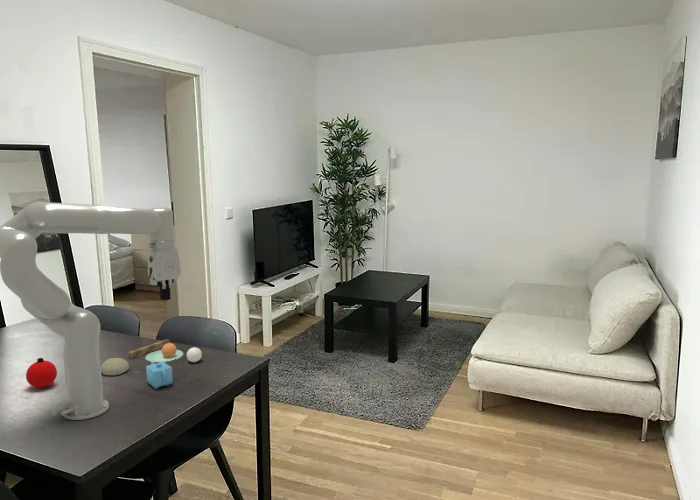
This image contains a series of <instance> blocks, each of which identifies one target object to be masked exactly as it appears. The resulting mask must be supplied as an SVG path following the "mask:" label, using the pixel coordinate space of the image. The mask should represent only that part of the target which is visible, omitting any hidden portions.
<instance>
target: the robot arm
mask: <svg viewBox="0 0 700 500" xmlns="http://www.w3.org/2000/svg"><path fill="white" fill-rule="evenodd" d="M42 233H49V234H88V235H89V234H90V235H91V234H99V235H109V234H110V235H112V234H117V235H119V234H120V235H149V243H148V244H147V247H148V249H150V250H148V258H147V275H148V280H149V285H151V286H156V287H157V288H158V289H159V299H160V300H161V301H169V300H171V288H172V286H173V283H174V282H175V281H177V280H179V278H180V276H181V274H182V272H181V269H182V268H181V262H180V261H181V260H180V256H179V253H178V252H179V250H178V249H177V247H176V246H175V231H174V212H173V210H172V209H171V208H169V207H153V208H120V207H114V206H107V205H100V204H85V203H84V204H82V203H63V202H46V201H35V202H32V203H31V204H28V205H27V206H26V207H24V208H23V209H21V210H20V211H19V212H17V213H16V214H15V215H14V216H12V217H11V218H9V220H7V221H6V222H5V223H3V224H2V225H0V276H1V280H2V281H3V283H4V284H5V286H6V287H7V289H8V290H10V291H11V292H12V293H13V294H15V296H17V297H18V298H19V299H20V302H21V306H22V307H23V308H24V310H25V311H27V312H28V314H30V315H31V316H33V318H35V319H36V320H38V321H39V322H40V323H41V324H43V326H45V327H47V328H48V329H49V330H50V331H52V332H54V333H55V334H57V335H59V336H61V337H63V338H64V339H65V340H64V341H65V342H64V347H63V364H64V374H65V375H64V376H65V388H66V398H67V399H65V400H63V404H61V405H60V406H59V407H55V408H53V409H51V410H50V413H51V415H52V417H56V416H58V415H60V414H61V416H63V418H64V419H67V420H69V421H70V420H71V421H82V420H83V421H84V420H89V419H92V418H96V417H98V416H101V415H103V414H104V413H106V412H107V411H108V409H109V408H110V402H109V400H106V399H104V396H103V395H104V394H103V382H102V372H101V357H100V336H101V322H100V319H99V318H98V316H97V315H96V314H95V313H94V312H92V311H90V310H88V309H86V308H83V307H79V306H76V305H75V304H74V303H73V302H71V298H70V296H69V294H68V293H67V291H65V290H64V289H63V288H61V287H60V286H58V285H57V284H56V283H55V282H53V280H52V279H50V278H49V277H48V276H46V274H44V273H43V272H42V270H40V268H39V267H38V266H37V262H36V261H37V260H36V258H37V254H38V253H37V252H38V242H37V241H36V239H37V238H38V237H39V236H40V235H41V234H42Z"/></svg>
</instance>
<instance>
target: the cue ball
mask: <svg viewBox="0 0 700 500" xmlns="http://www.w3.org/2000/svg"><path fill="white" fill-rule="evenodd" d="M186 358H187V360H188V361H189V362H191V363H197V362H198V361H201V359H202V350H201V349H200V348H199V347H196V346H195V347H191V348H189V349H188V350H187V351H186Z"/></svg>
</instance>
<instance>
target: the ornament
mask: <svg viewBox="0 0 700 500" xmlns="http://www.w3.org/2000/svg"><path fill="white" fill-rule="evenodd" d="M57 376H58V369H57V367H56V365H55V364H54V363H52V362H51V361H49V360H44V358H43V357H39V358H37V359H36V361H34V362H33V363H32V364H31V365H30V366H29V367H28V368H27V370H26V372H25V377H26V381H27V383H28V384H29V385H30V386H31V387H33V388H37V389H42V388H47V387H49V386H51V385H52V384H53V383H54V382H55V380H57V379H56V378H57Z"/></svg>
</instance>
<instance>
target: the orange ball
mask: <svg viewBox="0 0 700 500" xmlns="http://www.w3.org/2000/svg"><path fill="white" fill-rule="evenodd" d="M161 350H162V354H163V355H164V356H165V357H172V356H174V355H175V354H176V350H177V347H176V345H175V344H174V343H171V342H170V343H167V344H165V345H164V346H163V347H162V349H161Z"/></svg>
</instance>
